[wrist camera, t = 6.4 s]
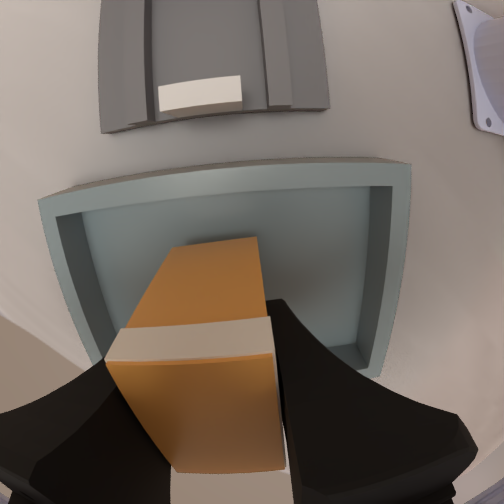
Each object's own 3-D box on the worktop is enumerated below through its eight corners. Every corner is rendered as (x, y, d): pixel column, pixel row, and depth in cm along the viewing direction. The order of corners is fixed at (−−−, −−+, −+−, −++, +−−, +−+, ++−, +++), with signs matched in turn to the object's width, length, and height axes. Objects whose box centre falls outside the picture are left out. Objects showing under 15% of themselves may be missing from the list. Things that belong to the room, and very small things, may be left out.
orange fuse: (258, 234, 10) (275, 354, 4) (270, 340, 12) (286, 469, 6) (170, 246, 10) (102, 362, 4) (197, 347, 12) (176, 472, 6)
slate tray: (378, 157, 11) (411, 164, 9) (362, 342, 15) (379, 376, 12) (72, 186, 11) (37, 199, 9) (121, 357, 15) (106, 390, 12)
